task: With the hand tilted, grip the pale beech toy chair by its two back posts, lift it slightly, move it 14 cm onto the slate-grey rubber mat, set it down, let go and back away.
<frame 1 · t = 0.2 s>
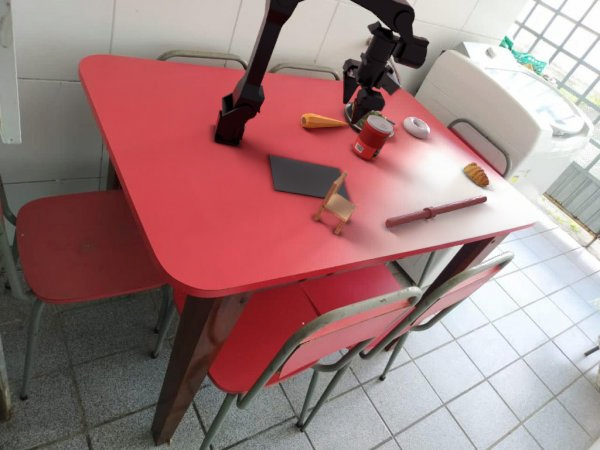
hand: (348, 113, 104), 15 cm above the table, tool pointing down, fingers open, 9 cm apart
salad plate: (365, 123, 137), on the table
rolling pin: (438, 214, 115), on the table
canned food: (363, 153, 123), on the table
toy chair: (331, 219, 97), on the table
pastry: (473, 177, 138), on the table
mat: (309, 179, 104), on the table
donut: (413, 131, 147), on the table
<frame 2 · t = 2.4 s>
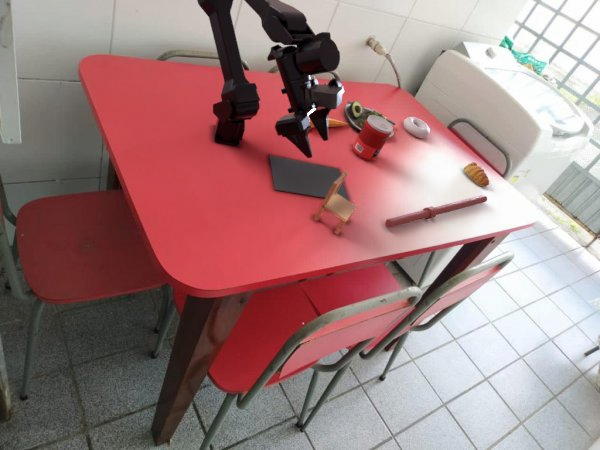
hand: (318, 148, 90), 14 cm above the table, tool tilted 40°, fingers open, 9 cm apart
nothing on the table moved.
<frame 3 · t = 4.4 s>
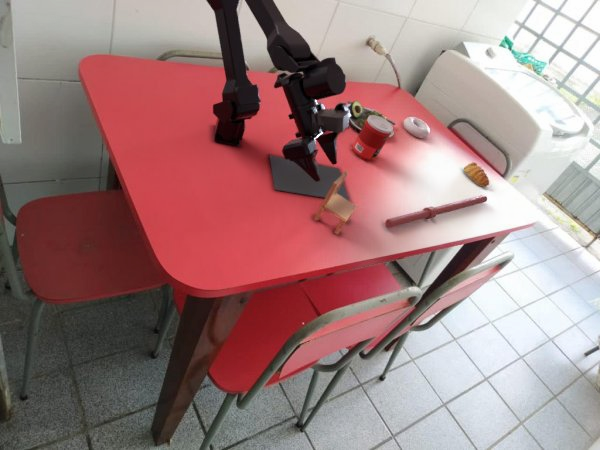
hand: (326, 172, 90), 11 cm above the table, tool tilted 45°, fingers open, 9 cm apart
nothing on the table moved.
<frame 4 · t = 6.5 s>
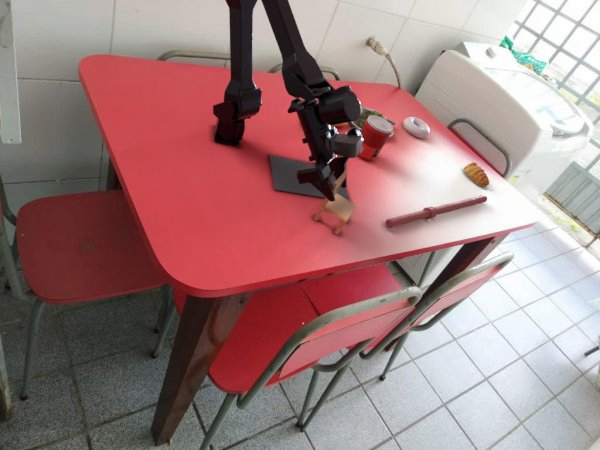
hand: (338, 194, 92), 7 cm above the table, tool tilted 45°, fingers closed on toy chair, 6 cm apart
toy chair: (331, 219, 97), on the table, touching gripper
everything else where it was.
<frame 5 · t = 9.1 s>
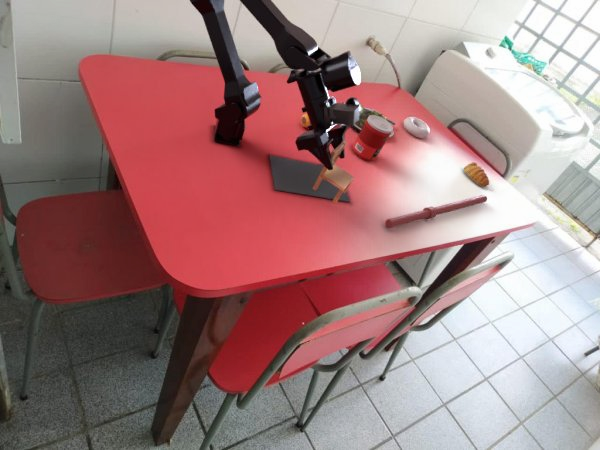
hand: (336, 163, 94), 10 cm above the table, tool tilted 45°, fingers closed on toy chair, 6 cm apart
toy chair: (329, 190, 99), point 3 cm above the table, touching gripper
everything else where it was.
when the fingers open (8 cm above the table, at t = 11.8 s): toy chair stays where it is, resting on mat.
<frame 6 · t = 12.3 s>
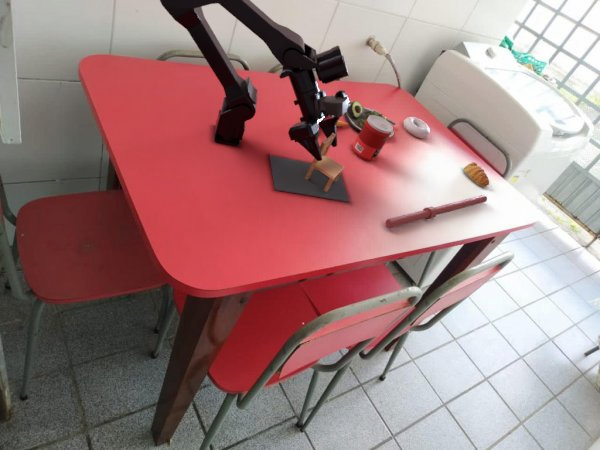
hand: (327, 153, 101), 8 cm above the table, tool tilted 45°, fingers open, 9 cm apart
toy chair: (320, 179, 106), resting on mat
everything else where it was.
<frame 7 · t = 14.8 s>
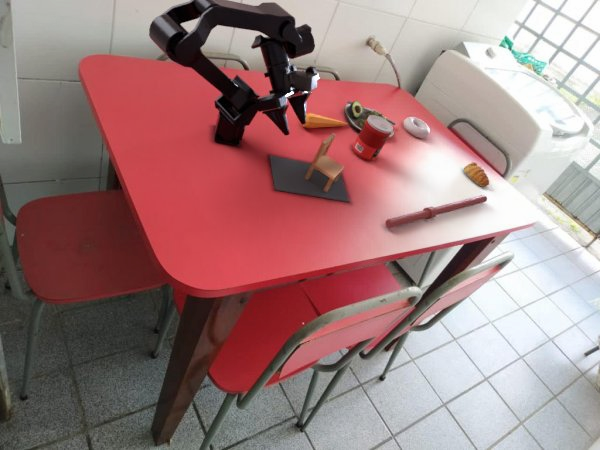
hand: (295, 129, 101), 9 cm above the table, tool tilted 40°, fingers open, 9 cm apart
nothing on the table moved.
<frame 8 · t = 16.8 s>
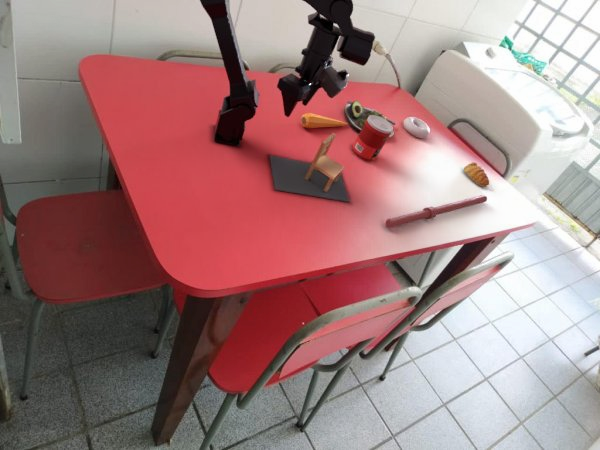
hand: (295, 110, 99), 13 cm above the table, tool pointing down, fingers open, 9 cm apart
nothing on the table moved.
at the end: toy chair 0.2 cm from the target spot, resting on mat; toy chair tilted 0°; the gripper is holding nothing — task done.
